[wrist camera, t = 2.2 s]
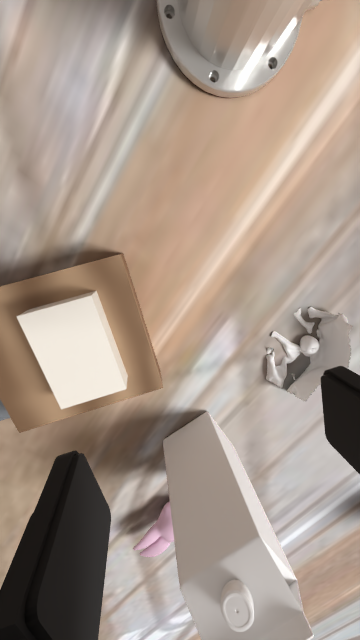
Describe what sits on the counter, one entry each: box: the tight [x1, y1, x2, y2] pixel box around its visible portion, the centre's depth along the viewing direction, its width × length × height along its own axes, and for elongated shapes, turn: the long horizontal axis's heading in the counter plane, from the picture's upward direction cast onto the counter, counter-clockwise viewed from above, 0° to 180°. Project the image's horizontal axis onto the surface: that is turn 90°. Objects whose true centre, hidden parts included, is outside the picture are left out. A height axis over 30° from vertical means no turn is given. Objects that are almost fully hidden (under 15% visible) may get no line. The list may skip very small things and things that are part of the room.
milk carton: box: [163, 412, 314, 640], centre depth 25 cm, size 7×7×19 cm
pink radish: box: [133, 501, 174, 557], centre depth 33 cm, size 6×6×15 cm
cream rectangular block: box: [16, 291, 128, 409], centre depth 22 cm, size 6×9×2 cm, turn 15°
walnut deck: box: [0, 254, 163, 433], centre depth 25 cm, size 15×14×4 cm
